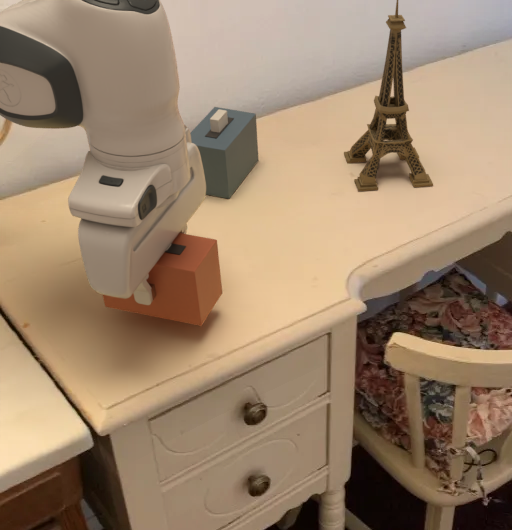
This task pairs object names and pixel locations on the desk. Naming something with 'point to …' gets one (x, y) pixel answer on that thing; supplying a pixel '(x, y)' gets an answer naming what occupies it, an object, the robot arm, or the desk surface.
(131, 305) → the terracotta tissue box
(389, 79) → the eiffel tower
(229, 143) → the slate tissue box
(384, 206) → the desk surface
